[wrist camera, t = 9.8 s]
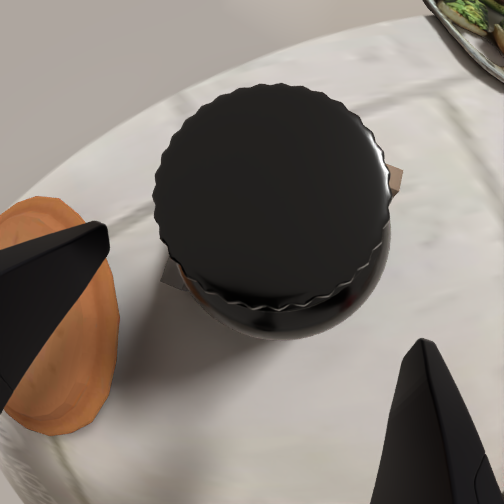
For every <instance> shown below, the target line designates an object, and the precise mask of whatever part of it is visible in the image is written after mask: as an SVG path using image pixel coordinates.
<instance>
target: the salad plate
mask: <svg viewBox="0 0 504 504" xmlns="http://www.w3.org/2000/svg"><path fill="white" fill-rule="evenodd" d="M423 2H424V3H425V5H426V6H427V8H428V9H429V10H430V11H432V13H433V14H434V15H435V16H436V17H437V18H438V19H439V20H440V21H441V23H442V24H443V25H444V26H445V27H446V29H447V30H448V31H449V33H450V34H451V35H452V36H453V37H454V38H455V39H456V40H457V41H458V42H459V43H460V44H461V45H462V47H463V48H464V49H465V50H466V51H467V53H468V54H469V55H470V56H471V57H472V58H473V59H474V60H475V61H476V62H477V63H478V64H479V65H480V66H481V67H482V68H484V69H485V70H486V71H487V72H489V73H490V74H491V75H493V76H494V77H495V78H497V79H498V80H500V81H501V82H503V83H504V66H503V67H499V66H498V65H496V64H495V63H493V62H492V61H490V60H489V59H488V58H486V57H485V56H484V55H483V54H481V53H480V52H479V51H478V50H476V49H475V48H474V47H473V46H472V45H471V44H470V43H469V42H468V41H467V40H466V39H465V38H464V37H463V36H462V35H461V34H460V32H459V31H458V30H457V29H456V28H455V27H454V26H453V24H452V23H455V24H457V25H458V26H460V27H462V28H465V29H467V30H469V31H471V32H473V33H476V34H478V35H480V36H482V37H484V38H486V39H487V40H488V41H489V42H490V43H492V44H493V45H494V46H495V47H496V48H497V49H498V50H499V51H500V54H501V55H502V56H503V57H504V0H423Z"/></svg>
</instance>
